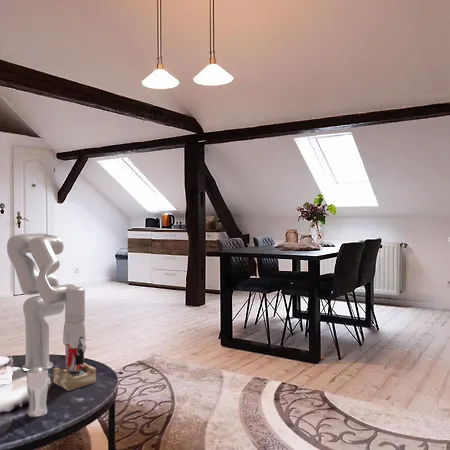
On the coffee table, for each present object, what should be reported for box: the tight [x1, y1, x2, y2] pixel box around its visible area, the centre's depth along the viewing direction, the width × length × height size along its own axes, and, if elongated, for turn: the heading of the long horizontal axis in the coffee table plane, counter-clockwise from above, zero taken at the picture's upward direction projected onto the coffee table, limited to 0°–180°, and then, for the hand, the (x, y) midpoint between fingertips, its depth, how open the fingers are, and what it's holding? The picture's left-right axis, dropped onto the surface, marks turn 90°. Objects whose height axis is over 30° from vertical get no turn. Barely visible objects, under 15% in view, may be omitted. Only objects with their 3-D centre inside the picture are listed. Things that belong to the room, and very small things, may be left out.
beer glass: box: [26, 367, 50, 418], centre depth 156 cm, size 7×7×15 cm
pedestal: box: [53, 362, 97, 391], centre depth 185 cm, size 12×12×6 cm
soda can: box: [64, 343, 85, 372], centre depth 185 cm, size 7×7×12 cm
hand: (74, 361), depth 185 cm, fingers closed on soda can, 7 cm apart
